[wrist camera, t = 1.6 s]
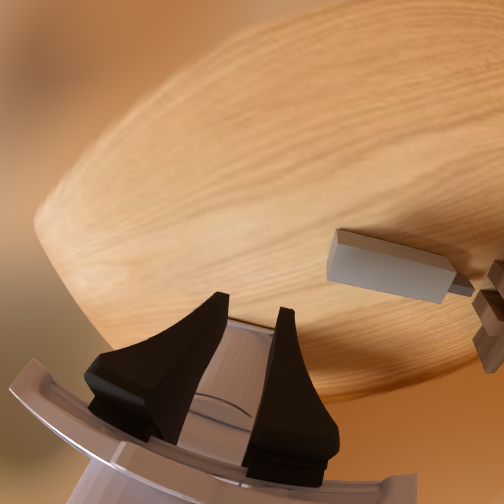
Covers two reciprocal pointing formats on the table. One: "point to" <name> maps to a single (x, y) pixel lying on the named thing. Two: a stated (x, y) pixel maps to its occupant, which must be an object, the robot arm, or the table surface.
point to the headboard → (491, 321)
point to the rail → (393, 268)
